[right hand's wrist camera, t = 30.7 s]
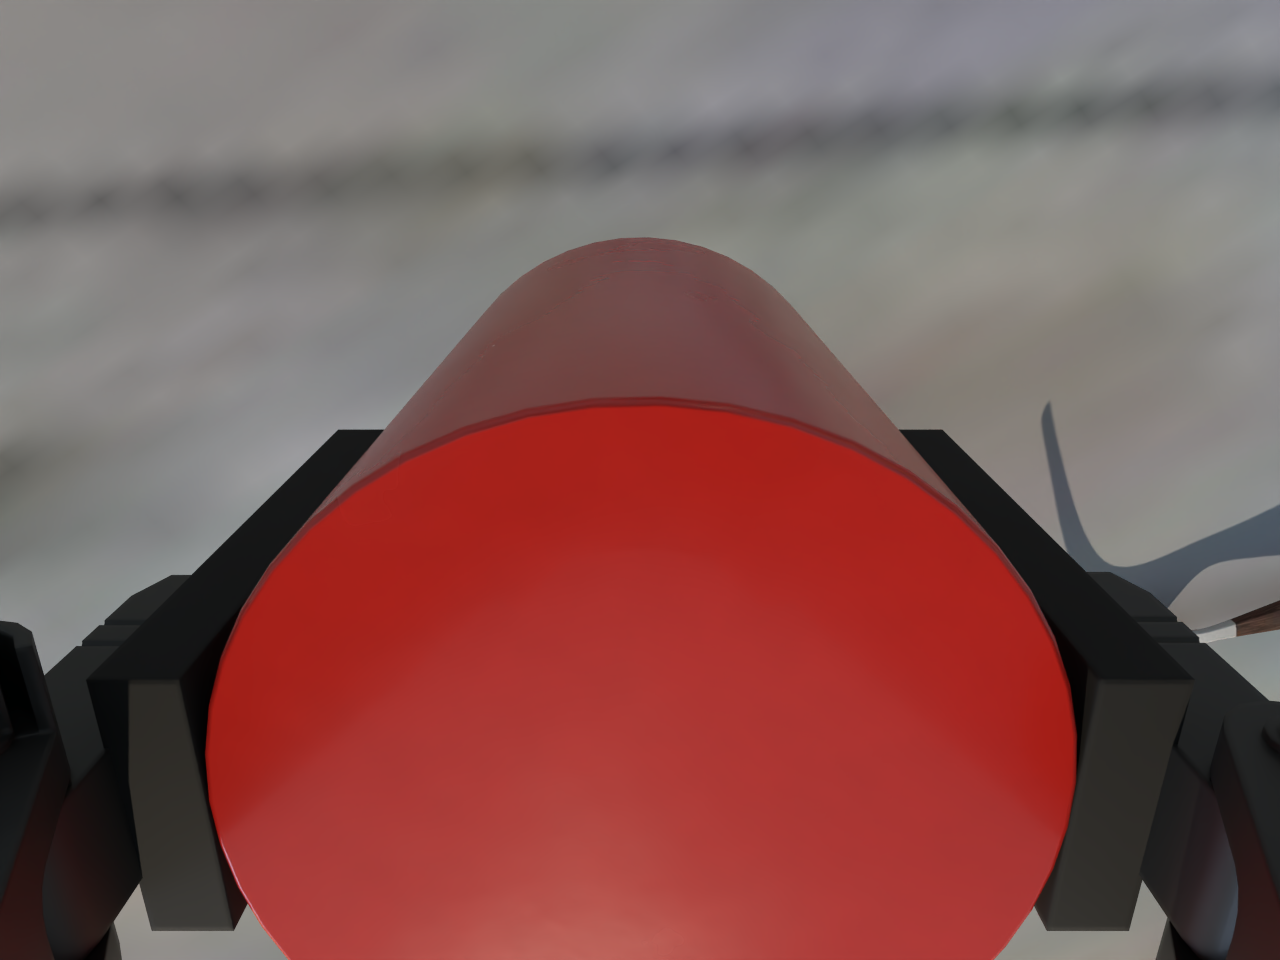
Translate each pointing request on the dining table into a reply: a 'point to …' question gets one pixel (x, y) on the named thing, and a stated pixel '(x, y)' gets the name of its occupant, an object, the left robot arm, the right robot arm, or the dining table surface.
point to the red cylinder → (641, 658)
